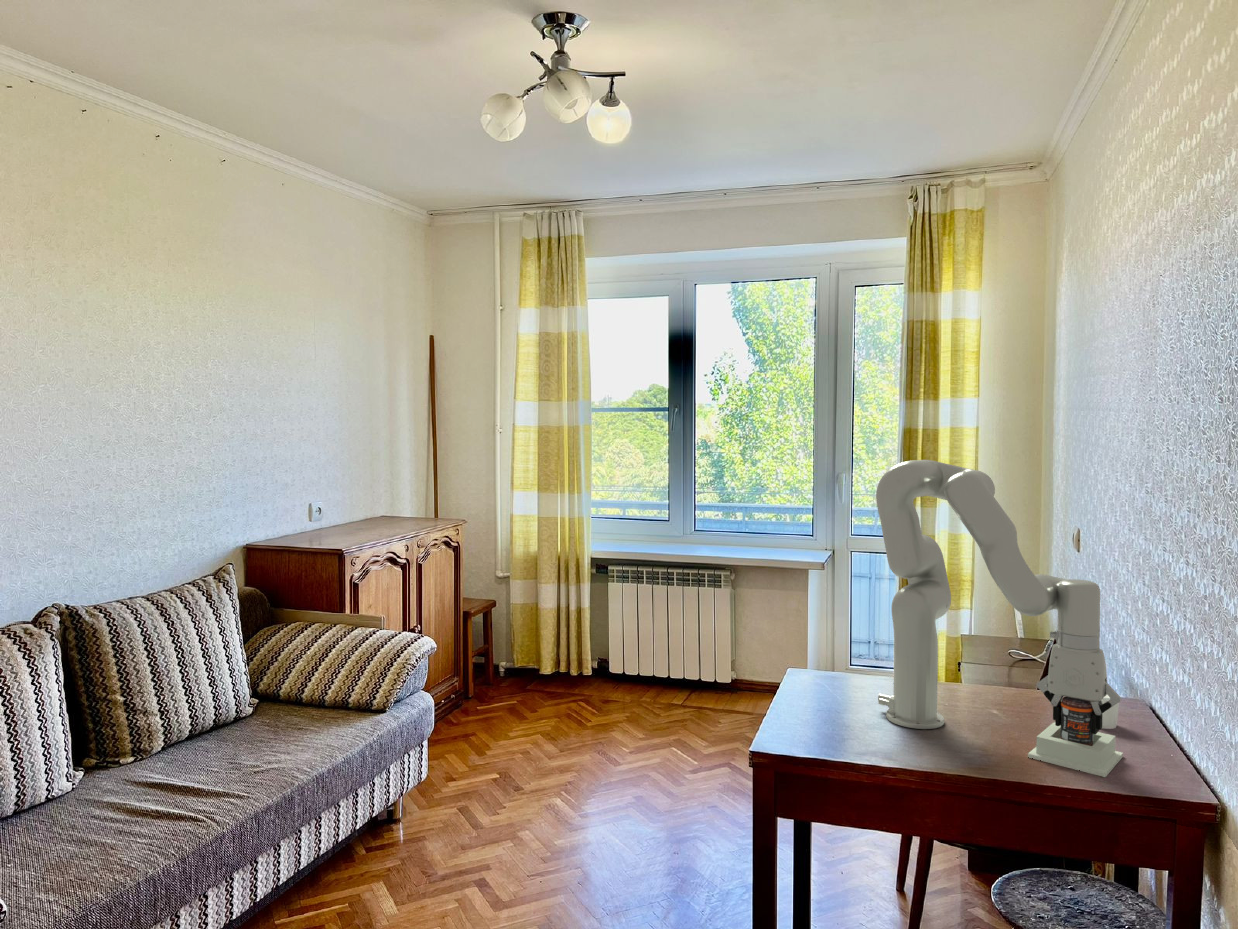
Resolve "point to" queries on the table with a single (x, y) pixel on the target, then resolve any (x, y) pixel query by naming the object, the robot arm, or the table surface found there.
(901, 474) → the robot arm
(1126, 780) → the table surface
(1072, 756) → the socket block
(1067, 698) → the supplement bottle
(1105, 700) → the white cylinder
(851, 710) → the table surface
